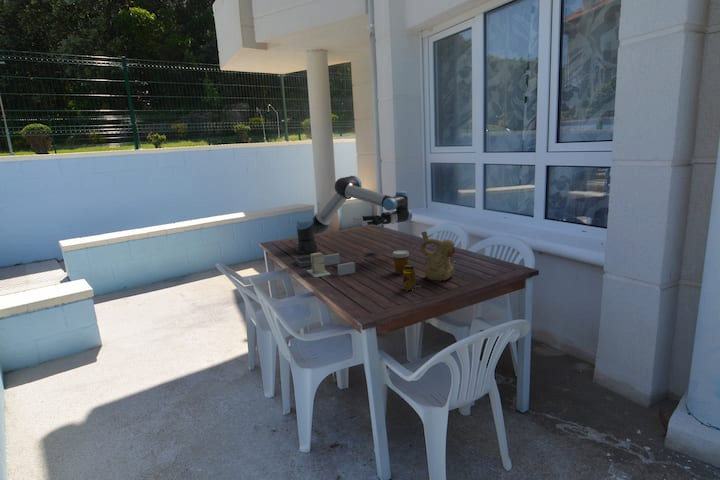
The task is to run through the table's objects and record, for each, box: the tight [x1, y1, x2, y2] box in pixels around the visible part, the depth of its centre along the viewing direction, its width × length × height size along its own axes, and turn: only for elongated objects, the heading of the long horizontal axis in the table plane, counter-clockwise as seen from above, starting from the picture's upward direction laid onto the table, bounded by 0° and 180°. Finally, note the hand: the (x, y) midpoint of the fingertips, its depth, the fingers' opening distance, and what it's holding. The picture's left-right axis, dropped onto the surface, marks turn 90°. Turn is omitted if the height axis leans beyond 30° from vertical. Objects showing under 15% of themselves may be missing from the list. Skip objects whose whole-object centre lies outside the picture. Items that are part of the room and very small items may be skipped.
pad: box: [305, 268, 332, 278], centre depth 252 cm, size 16×10×1 cm, turn 25°
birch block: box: [310, 251, 326, 274], centre depth 251 cm, size 6×6×11 cm
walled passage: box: [324, 252, 356, 276], centre depth 257 cm, size 26×10×6 cm, turn 25°
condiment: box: [402, 264, 422, 292], centre depth 216 cm, size 7×8×12 cm
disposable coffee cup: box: [392, 249, 410, 275], centre depth 242 cm, size 10×10×12 cm
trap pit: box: [294, 255, 312, 269], centre depth 272 cm, size 14×14×3 cm
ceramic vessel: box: [420, 230, 457, 282], centre depth 228 cm, size 17×20×25 cm
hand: (357, 222), depth 259 cm, fingers open, 13 cm apart
